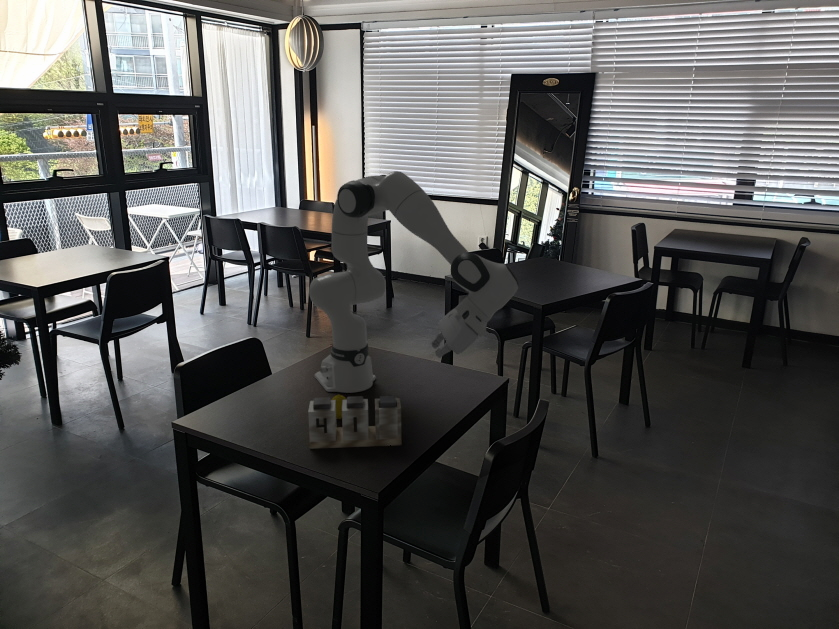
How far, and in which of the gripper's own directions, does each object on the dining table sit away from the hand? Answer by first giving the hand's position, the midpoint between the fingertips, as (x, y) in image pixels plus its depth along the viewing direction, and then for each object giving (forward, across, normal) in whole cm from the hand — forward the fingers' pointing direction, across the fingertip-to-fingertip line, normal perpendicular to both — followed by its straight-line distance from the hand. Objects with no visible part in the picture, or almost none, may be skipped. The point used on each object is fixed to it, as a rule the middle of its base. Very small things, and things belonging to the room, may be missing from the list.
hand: (434, 351), depth 176 cm
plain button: (+23, 0, +5) cm, 24 cm away
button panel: (+34, 0, +2) cm, 34 cm away
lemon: (+37, -14, -1) cm, 39 cm away
